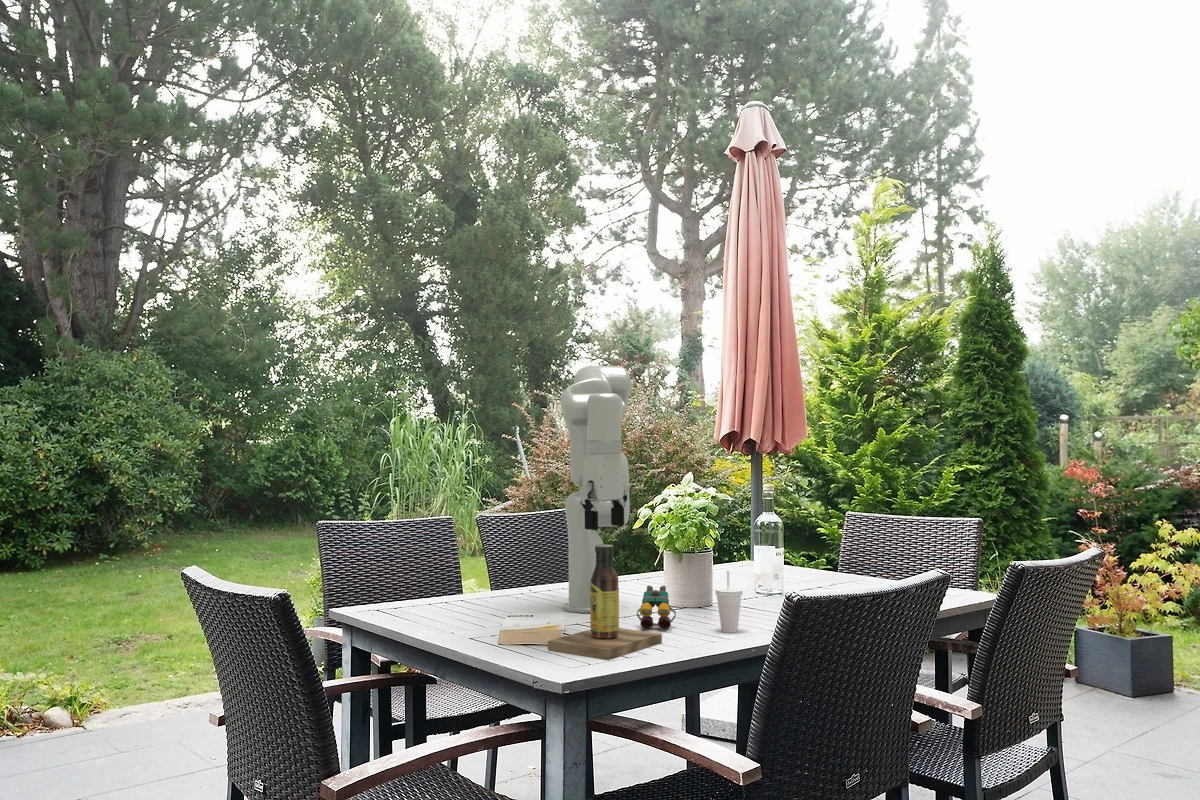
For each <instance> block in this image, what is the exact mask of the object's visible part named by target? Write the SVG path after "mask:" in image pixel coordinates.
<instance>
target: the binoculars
mask: <svg viewBox="0 0 1200 800" xmlns="http://www.w3.org/2000/svg"><path fill="white" fill-rule="evenodd" d="M666 589H667V586H666V585H661V586H660V587H659V590H657V589H654V588H653V586H652V585H647V586H646V591H644V592H643V597H642V600H641V603H642V604H641V605H640V607H639V608H638V609H637V611H636V616H637V618H638V619H639V621H640V622H639V623H640V627H641V628H642V629H644V630H650V629H652V628H653V627H654V626H655V627H659V628H660V629H662V630H668V629H670V628H671V626H672V622H673V621H674V620H675V618H676V614H677V612H676V611H675V610H674V608H673V607H672V605H670V604H669V603H670V600H669V593H668V592H667V591H666ZM655 607H657V615H658V616H660V617H659V618H658V621H657V623H656V622H655V623H654V620H653V619H654V618H653V617H652V615H653V608H655ZM671 612H673V613H674V615H673V617H672V618H670V617H669V616H670V614H671ZM639 613H640V615H641V616H642V617H640V615H639Z"/></svg>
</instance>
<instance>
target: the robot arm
mask: <svg viewBox="0 0 1200 800" xmlns="http://www.w3.org/2000/svg"><path fill="white" fill-rule="evenodd" d="M631 389H632V380H631V375H630V373H629V372H628V370H627V369H626V368H625V367H624V366H621V365H589V366H584V367H581V368H580V369H579V370H578V371H576V373H575V374H574V377H573V384H570V385H569V386H567V387H566V388H565V390H563V391H562V393H561V395H560V409H561V413H562V416H563V419H564V422H565V425H566V427H567V430H568V436H569V470H570V471H569V473H570V478H571V482H572V483H573V484H575V485H576V486H579V487H581V489H579V490H578V491H576V492H572V493H570V494H569V495H568V496H567V497H566V499H565V502H564V510H565V511H564V512H565V518H566V526H567V537H568V538H567V539H568V540H567V541H568V542H567V543H568V602H567V603H564V604H563V605H562V609H563V611H565V612H571V613H577V614H578V613H579V614H580V613H581V614H582V613H585V614H588V613H589V614H590V581H591V578H592V575H593V572H594V569H595V566H596V552H595V546H596V545H600V544H601V545H602V544H604V541H603V540H602V538H601V536H600V535H599V534H598V533H597V532H596V531H597V530H599V528H600V527H623V526H625V525H626V524H627V523H628V522H629V518H630V510H631V509H630V508H631V507H630V504H631V502H630V470H629V462H628V458H627V456H626V454H625V453H623V452H622V422H623V420H624V419H625V418H626V411H627V407H628V402H629V399H630V395H631Z"/></svg>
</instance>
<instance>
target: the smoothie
mask: <svg viewBox="0 0 1200 800" xmlns="http://www.w3.org/2000/svg"><path fill="white" fill-rule="evenodd" d="M714 594H715V595H716V601H717V606H718V607H717V608H718V613H719V615H718V616H719V621H720V628H721V629H720V630H721V632H722V633H724V634H725V633H728V634H733V633H735V634H736V633H738V631H739V630H738V629H739V621H740V610H741V609H740V608H741V602H742V601H741V600H742V595H743V594H744V593H743V589H741V588H737V587H730V571H729V570H728V571H726V587H718V588H715V592H714Z"/></svg>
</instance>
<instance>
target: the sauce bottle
mask: <svg viewBox="0 0 1200 800" xmlns="http://www.w3.org/2000/svg"><path fill="white" fill-rule="evenodd" d="M614 551H615V550H614V545H613V544H604V543H603V544H602V545H601V544H600V545H596V546H595V552H596V566H595V569H594V572H593V575H592V578H591V581H590V613H589V614H590V620H589V622H590V629H591V635H592V636H593V637H595V638H600V639H612V638H615V637H617V636H618V634H619V631H618V630H619V628H620V588H619V575H618V572H617V571H616V570H615V567H614V558H613V557H614V556H613V555H614Z"/></svg>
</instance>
